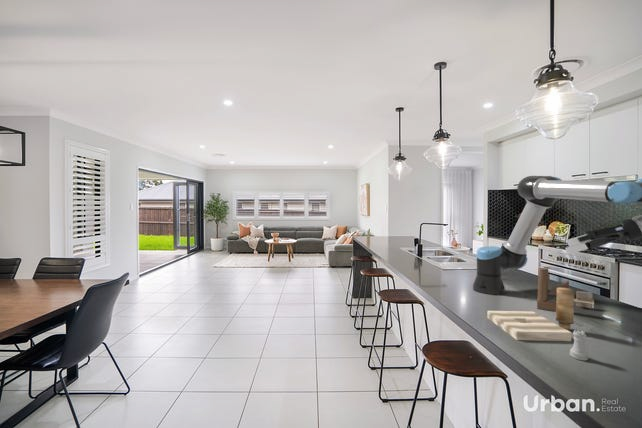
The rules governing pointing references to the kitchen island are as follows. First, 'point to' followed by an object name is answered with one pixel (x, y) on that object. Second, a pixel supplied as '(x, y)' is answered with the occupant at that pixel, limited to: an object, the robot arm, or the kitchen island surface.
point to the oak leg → (565, 307)
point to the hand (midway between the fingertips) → (567, 247)
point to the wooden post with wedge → (543, 291)
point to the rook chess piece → (579, 346)
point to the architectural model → (584, 299)
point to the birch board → (528, 326)
